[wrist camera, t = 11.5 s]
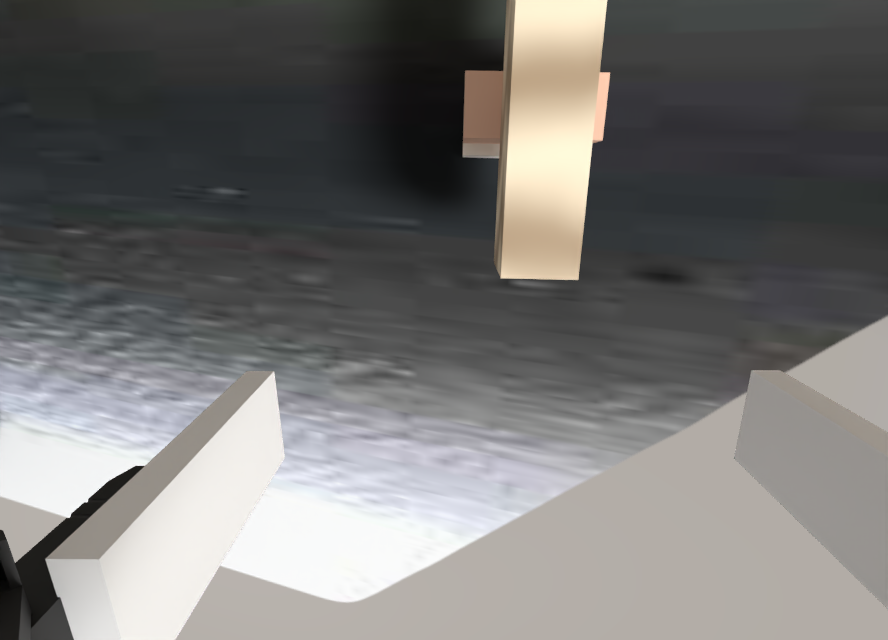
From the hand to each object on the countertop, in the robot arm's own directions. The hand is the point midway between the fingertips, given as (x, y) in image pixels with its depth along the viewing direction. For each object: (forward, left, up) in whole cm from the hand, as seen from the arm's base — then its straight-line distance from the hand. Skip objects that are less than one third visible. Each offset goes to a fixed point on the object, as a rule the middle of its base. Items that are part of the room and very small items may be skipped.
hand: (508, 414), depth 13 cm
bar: (-5, +10, -17) cm, 20 cm away
